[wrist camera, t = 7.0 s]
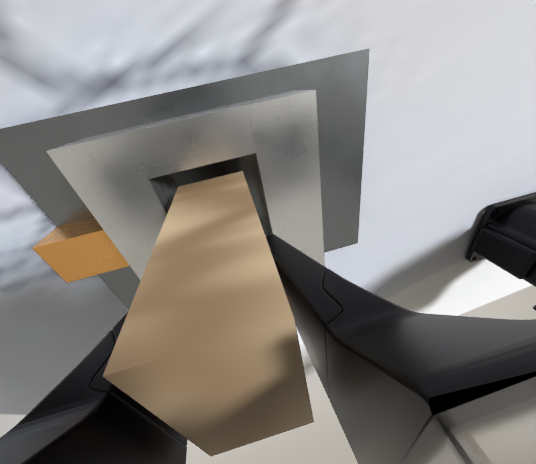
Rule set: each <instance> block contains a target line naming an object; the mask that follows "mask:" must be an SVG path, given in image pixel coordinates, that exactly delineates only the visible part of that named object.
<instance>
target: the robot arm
mask: <svg viewBox="0 0 536 464" xmlns="http://www.w3.org/2000/svg"><path fill="white" fill-rule="evenodd" d="M266 239H267V242H268V245H269V248H270V251H271V254H272V256H273V259H274V262H275V265H276V268H277V271H278V274H279V277H280V279H281V282H282V285H283V288H284V291H285V294H286V297H287V299H288V302H289V305H290V308H291V311H292V314H293V317H294V320H295V325H296V327H297V329H298V332H299V334H300V336H301V338H302V340H303V343H304V345H305V347H306V349H307V351H308V354H309V356H310V358H311V360H312V362H313V365H314V367H315V369H316V371H317V373H318V376H319V378H320V380H321V382H322V384H323V387H324V389H325V391H326V393H327V395H328V398H329V399H330V402H331V404H332V407H333V409H334V411H335V413H336V415H337V417H338V420H339V422H340V424H341V426H342V429H343V431H344V433H345V435H346V437H347V440H348V442H349V444H350V446H351V448H352V451H353V453H354V455H355V457H356V460H357V462H358V464H536V319H535V320H508V319H507V320H506V319H492V318H479V317H463V316H450V315H436V314H424V313H417V312H413V311H410V310H407V309H404V308H402V307H399V306H397V305H395V304H393V303H391V302H389V301H387V300H385V299H383V298H381V297H379V296H377V295H375V294H373V293H371V292H369V291H367V290H365V289H363V288H361V287H359V286H357V285H355V284H353V283H351V282H349V281H347V280H346V279H344V278H342V277H341V276H339V275H337V274H336V273H334V272H333V271H331V270H329V269H327V268H326V267H325V266H323V265H321V264H320V263H318V262H317V261H315V260H314V259H312V258H310V257H309V256H307V255H306V254H304V253H303V252H301V251H300V250H298V249H296V248H295V247H293V246H292V245H290V244H289V243H287V242H285V241H284V240H282V239H281V238H279V237H278V236H276V235H274V234H271V235H268V236H266ZM484 258H485V259H487V260H489V261H490V262H492V263H494V264H495V265H497V266H498V267H500V268H502V269H503V270H505V271H507V272H508V273H510V274H512V275H513V276H515V277H517V278H518V279H524V280H525V281H527V282H529V283H530V284H532V285H534V286H536V193H533V194H530V195H526V196H523V197H519V198H516V199H512V200H508V201H505V202H501V203H498V204H494V205H492V206H490V207H489V208H488V209H487V210H486V212H485V215H484V217H483V219H482V222H481V224H480V226H479V229H478V231H477V233H476V236H475V238H474V240H473V242H472V245H471V247H470V249H469V252H468V254H467V256H466V260H468V261H469V262H474V261H478V260H481V259H484ZM533 309H534V310H536V305H535V306H534V307H533ZM127 314H128V312H127V313H126V315H125V316H124V317H123V318H122V319H121V320H120V321H119V322H118V323H117V324H116V325H115V327H114V328H113V329H112V330H113V331H110V332H109V333H108V334H107V335H106V336H105V337H104V339H103V340H102V341H101V342H100V343H99V344H98V345H97V346H96V347H95V348H94V349H93V350H92V351H91V352H90V353H89V354H88V356H87V357H86V358H85V359H84V360H83V361H82V362H81V363H80V364H79V365H78V366H77V367H76V368H75V369H74V370H73V371H72V372H71V373H69V374H68V375H67V376H66V377H65V378H64V379H63V380H62V381H61V382H60V383H59V384H58V385H57V386H56V387H55V388H54V389H53V390H52V391H51V392H50V393H49V394H48V395H47V396H46V397H45V398H44V399H43V400H42V401H41V402H40V403H39V404H38V405H37V406H36V407H35V408H34V409H33V410H32V411H31V412H30V413H29V414H28V415H27V416H25V417H24V418H23V419H22V420H21V421H20V422H19V423H18V424H17V425H16V426H15V427H13V428H12V429H11V430H10V431H9V432H7V433H6V434H5V435H3V436H2V437H1V438H0V464H186V451H187V447H186V445H187V438H185V437H184V436H183V435H181V434H180V433H179V432H177V431H176V430H175V429H173V428H172V427H170V426H169V425H168V424H166V423H165V422H164V421H162V420H161V419H160V418H158V417H157V416H156V415H154V414H153V413H152V412H150V411H149V410H147V409H146V408H145V407H143V406H142V405H141V404H139V403H138V402H137V401H135V400H134V399H133V398H131V397H130V396H129V395H127V394H126V393H124V392H123V391H122V390H120V389H119V388H118V387H116V386H115V385H114V384H112V383H111V382H110V381H108V380H107V379H105V378H104V377H103V374H104V371H105V369H106V366H107V364H108V361H109V359H110V356H111V354H112V351H113V349H114V346H115V344H116V341H117V339H118V336H119V334H120V331H121V329H122V326H123V324H124V321H125V319H126V316H127Z"/></svg>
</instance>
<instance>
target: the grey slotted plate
mask: <svg viewBox="0 0 536 464" xmlns="http://www.w3.org/2000/svg"><path fill="white" fill-rule="evenodd" d="M368 64H369V49H365V50H360V51H356V52H351V53H347V54H342V55H338V56H333V57H328V58H324V59H319V60H315V61H310V62H305V63H301V64H296V65H292V66H287V67H282V68H278V69H273V70H269V71H264V72H260V73H255V74H250V75H246V76H241V77H237V78H232V79H227V80H223V81H218V82H214V83H209V84H205V85H200V86H195V87H191V88H186V89H182V90H177V91H172V92H168V93H163V94H159V95H154V96H150V97H145V98H140V99H136V100H131V101H127V102H122V103H117V104H113V105H108V106H104V107H99V108H94V109H90V110H85V111H81V112H76V113H72V114H67V115H62V116H58V117H53V118H49V119H44V120H39V121H35V122H30V123H26V124H21V125H17V126H12V127H7V128H3V129H0V161H1V163H2V164H3V165H4V166H5V167H6V168H7V169H8V171H9V172H10V173H11V174H12V175H13V176H14V178H15V179H16V180H17V181H18V182H19V183H20V184H21V186H22V187H23V188H24V189H25V190H26V191H27V193H28V194H29V195H30V196H31V197H32V198H33V199H34V201H35V202H36V203H37V204H38V205H39V206H40V207H41V209H42V210H43V211H44V212H45V213H46V214H47V216H48V217H49V218H50V219H51V220H52V221H53V222H54V224H55V225H56V226H57V228H55V229H54V230H53V231H52V232H51V233H49V234H48V235H47V236H46V237H45V238H43V239H42V240H41V241H40V242H39V243H38V244H36V245H35V246H34V247H33V248H32V249H33V250H34V251H35V252H36V253H37V254H38V255H39V256H41V257H42V258H43V259H44V260H45V261H46V262H47V263H48V264H49V265H50V266H51V267H52V268H53V269H54V270H55V271H56V272H57V273H58V274H59V275H60V276H61V277H62V278H63V279H64V280H65V281H66V282H67V283H68V282H72V281H75V280H79V279H83V278H87V277H90V276H94V275H98V274H99V276H100V277H101V278H102V279H103V280H104V281H105V282H106V284H107V285H108V286H109V287H110V288H111V289H112V291H113V292H114V293H115V294H116V295H117V296H118V297H119V299H120V300H121V301H122V302H123V303H124V304H125V305H126V307H127V308H129V307H130V306H131V304H132V301H133V299H134V296H135V294H136V291H137V289H138V286H139V284H140V281H141V279H142V276H143V274H144V271H145V269H146V266H147V264H148V261H149V259H150V256H151V254H152V251H153V249H154V246H155V244H156V241H157V239H158V236H159V233H160V231H161V228H162V226H163V223H164V221H165V218H166V216H167V213H168V211H169V208H170V206H171V203H172V201H173V198H174V196H175V193H176V191H177V188H178V187H179V186H183V185H188V184H192V183H196V182H200V181H204V180H208V179H212V178H216V177H220V176H224V175H228V174H232V173H236V172H240V171H243V174H244V176H245V179H246V182H247V185H248V188H249V191H250V194H251V196H252V199H253V202H254V205H255V208H256V211H257V214H258V216H259V219H260V222H261V225H262V228H263V231H264V234H265V236H268V235H271V234H274V235H276V236H278V237H279V238H281V239H282V240H284V241H285V242H287V243H289V244H290V245H292V246H293V247H295V248H296V249H298V250H300V251H301V252H303V253H304V254H306V255H307V256H309V257H310V258H312V259H314V260H315V261H317V262H318V263H320V264H321V265H323V266H325V263H324V252H328V251H331V250H335V249H338V248H342V247H345V246H349V245H352V244H356V243H358V229H359V212H360V196H361V179H362V163H363V146H364V130H365V114H366V97H367V81H368Z"/></svg>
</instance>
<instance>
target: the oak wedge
mask: <svg viewBox="0 0 536 464" xmlns="http://www.w3.org/2000/svg"><path fill="white" fill-rule="evenodd" d="M103 377H104V378H105V379H107V380H108V381H110V382H111V383H112V384H114V385H115V386H116V387H118V388H119V389H120V390H122V391H123V392H124V393H126V394H127V395H129V396H130V397H131V398H133V399H134V400H135V401H137V402H138V403H139V404H141V405H142V406H143V407H145V408H146V409H147V410H149V411H150V412H152V413H153V414H154V415H156V416H157V417H158V418H160V419H161V420H162V421H164V422H165V423H166V424H168V425H169V426H170V427H172V428H173V429H175V430H176V431H177V432H179V433H180V434H181V435H183V436H184V437H185V438H187V439H188V440H189V441H191V442H192V443H194V444H195V445H196V446H198V447H199V448H200V449H202V450H203V451H204V452H206V453H207V454H208V455H210V456H214V455H217V454H220V453H223V452H226V451H229V450H231V449H235V448H238V447H240V446H244V445H247V444H250V443H253V442H255V441H259V440H262V439H265V438H268V437H270V436H274V435H276V434H280V433H282V432H286V431H289V430H292V429H295V428H297V427H301V426H304V425H307V424H309V423H312V422H314V420H313V416H312V409H311V404H310V399H309V394H308V389H307V383H306V378H305V373H304V367H303V362H302V357H301V351H300V346H299V341H298V336H297V330H296V325H295V320H294V317H293V314H292V311H291V308H290V305H289V302H288V299H287V297H286V294H285V291H284V288H283V285H282V282H281V279H280V277H279V274H278V271H277V268H276V265H275V262H274V259H273V256H272V254H271V251H270V248H269V245H268V242H267V239H266V236H265V234H264V231H263V228H262V225H261V222H260V219H259V216H258V214H257V211H256V208H255V205H254V202H253V199H252V196H251V194H250V191H249V188H248V185H247V182H246V179H245V176H244V174H243V171H240V172H236V173H232V174H228V175H224V176H220V177H216V178H212V179H208V180H204V181H200V182H196V183H192V184H188V185H183V186H179V187H178V188H177V191H176V193H175V196H174V198H173V201H172V203H171V206H170V208H169V211H168V213H167V216H166V218H165V221H164V223H163V226H162V228H161V231H160V233H159V236H158V239H157V241H156V244H155V246H154V249H153V251H152V254H151V256H150V259H149V261H148V264H147V266H146V269H145V271H144V274H143V276H142V279H141V281H140V284H139V286H138V289H137V291H136V294H135V296H134V299H133V301H132V304H131V306H130V309H129V311H128V314H127V316H126V319H125V321H124V324H123V326H122V329H121V331H120V334H119V336H118V339H117V341H116V344H115V346H114V349H113V351H112V354H111V356H110V359H109V361H108V364H107V366H106V369H105V371H104V374H103Z"/></svg>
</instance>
